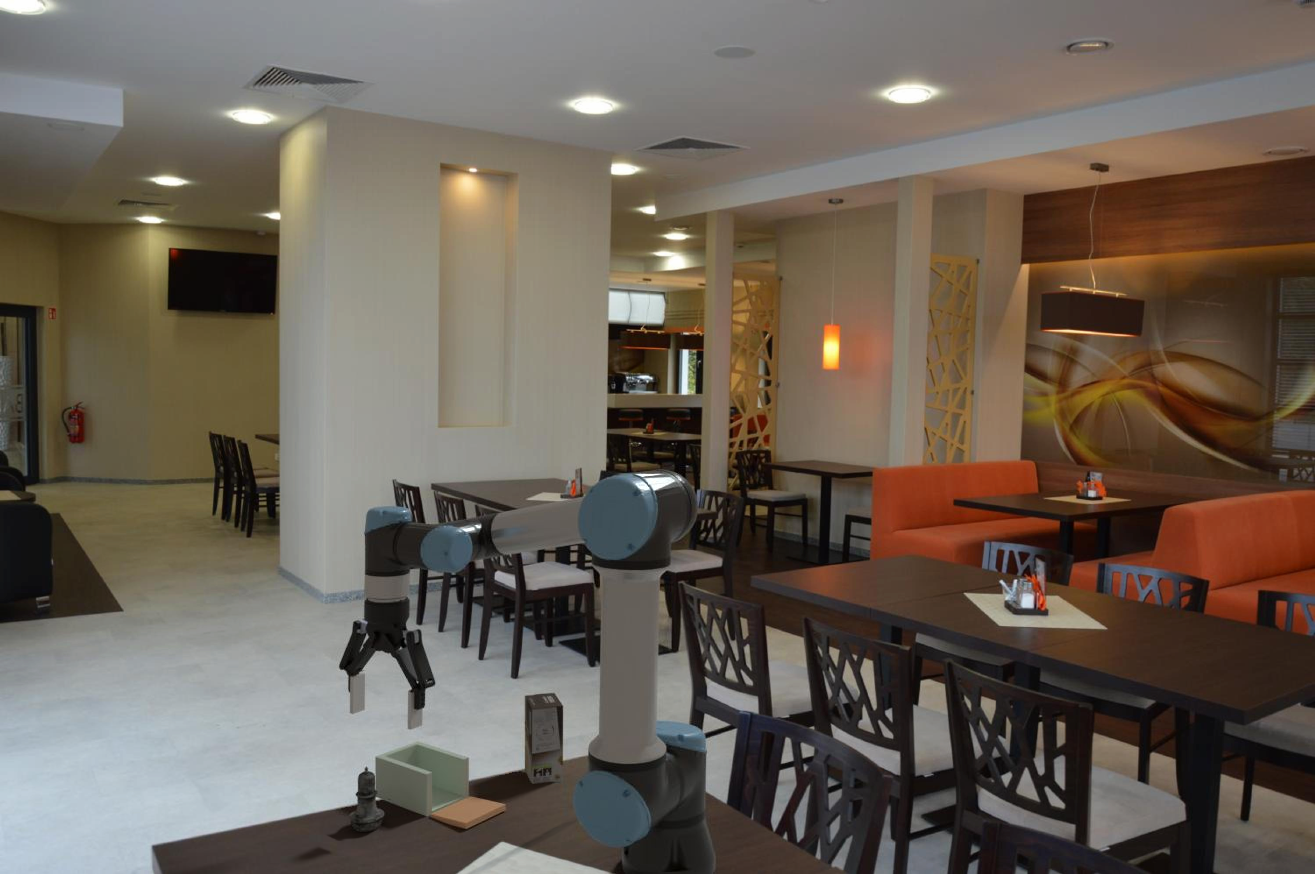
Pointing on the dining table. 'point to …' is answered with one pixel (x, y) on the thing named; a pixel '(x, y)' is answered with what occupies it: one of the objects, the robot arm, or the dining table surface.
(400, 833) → the dining table surface
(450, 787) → the crate
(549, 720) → the coffee box
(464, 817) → the flat tan square board
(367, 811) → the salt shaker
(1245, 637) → the dining table surface
